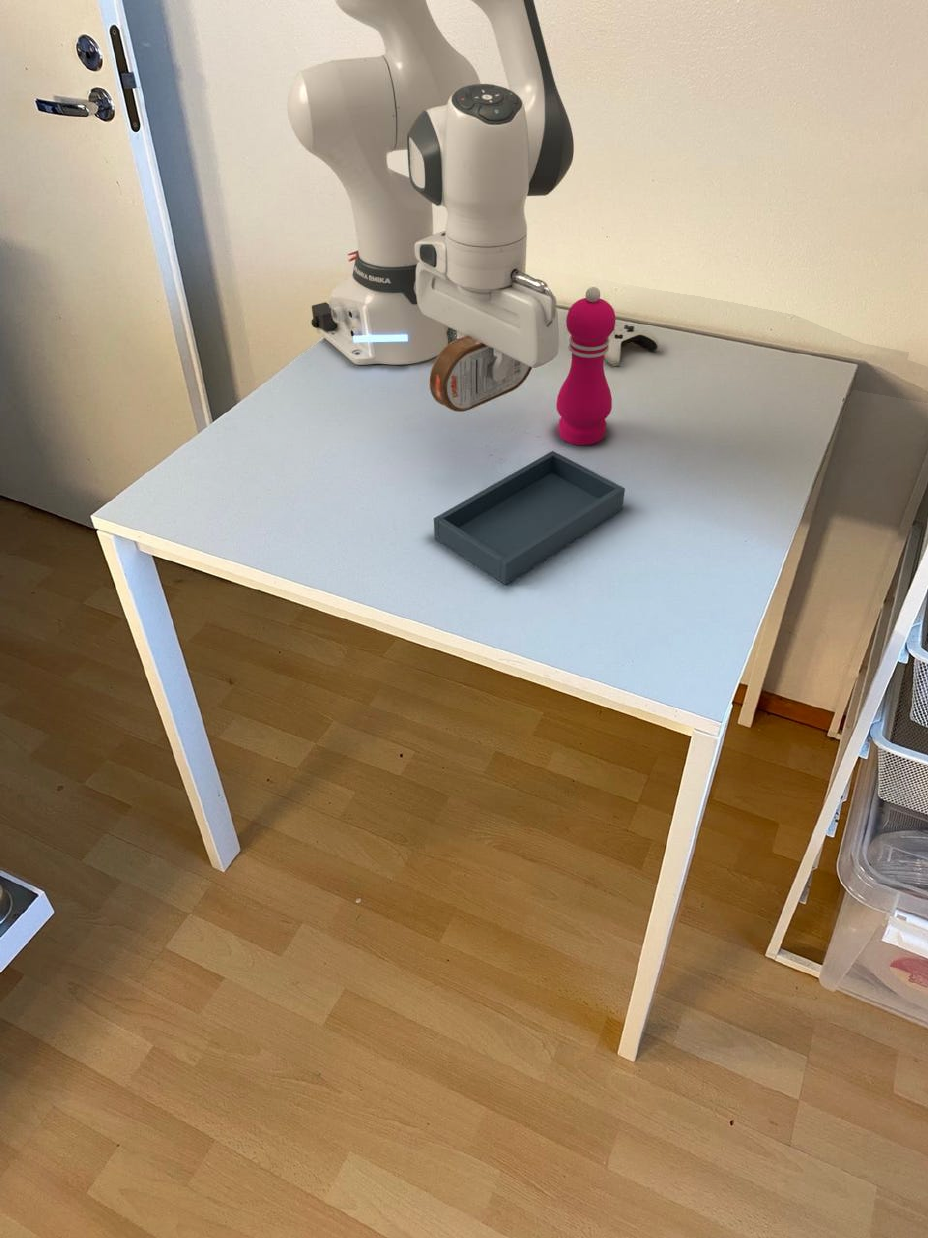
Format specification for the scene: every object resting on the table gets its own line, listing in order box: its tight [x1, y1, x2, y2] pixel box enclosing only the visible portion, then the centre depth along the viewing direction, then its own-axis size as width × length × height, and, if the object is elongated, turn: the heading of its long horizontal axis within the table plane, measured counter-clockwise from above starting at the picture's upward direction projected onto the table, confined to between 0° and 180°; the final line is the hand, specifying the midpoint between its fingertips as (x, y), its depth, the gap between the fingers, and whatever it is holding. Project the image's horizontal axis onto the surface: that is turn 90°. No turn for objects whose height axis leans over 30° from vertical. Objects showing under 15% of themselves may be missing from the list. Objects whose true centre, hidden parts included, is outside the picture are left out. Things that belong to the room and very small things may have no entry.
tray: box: [433, 450, 626, 586], centre depth 107 cm, size 12×20×3 cm, turn 133°
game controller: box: [604, 324, 659, 367], centre depth 139 cm, size 10×5×6 cm
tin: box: [429, 335, 533, 413], centre depth 109 cm, size 15×3×8 cm, turn 130°
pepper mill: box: [555, 286, 617, 446], centre depth 116 cm, size 7×7×20 cm
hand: (485, 372), depth 110 cm, fingers closed on tin, 2 cm apart
